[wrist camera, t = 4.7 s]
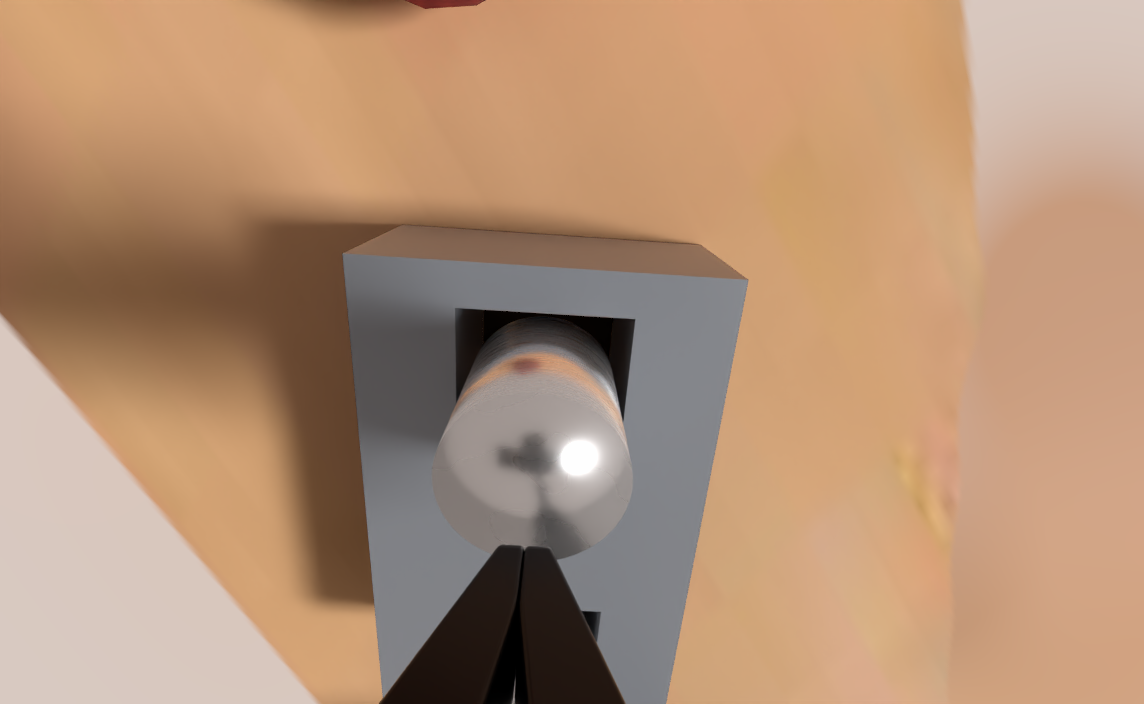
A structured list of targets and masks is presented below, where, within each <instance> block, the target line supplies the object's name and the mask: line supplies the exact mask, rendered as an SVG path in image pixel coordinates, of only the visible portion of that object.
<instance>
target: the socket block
mask: <svg viewBox="0 0 1144 704" xmlns="http://www.w3.org/2000/svg"><path fill="white" fill-rule="evenodd" d="M342 255H343V266H344V277H345V288H346V299H347V310H348V320H349V331H350V342H351V353H352V364H353V375H354V386H355V397H356V408H357V419H358V430H359V441H360V452H361V463H362V474H363V485H364V496H365V507H366V518H367V529H368V540H369V551H370V562H371V572H372V583H373V594H374V605H375V616H376V627H377V638H378V649H379V660H380V671H381V682H382V693H383V697H384V696H385V695H386V693H387V692H388V691H389V690H390V688H391V687H392V686H393V684H394V683H395V682H396V680H397V679H398V678H399V676H400V675H401V674H402V672H403V671H404V670H405V668H406V667H407V666H408V664H409V663H410V662H411V660H412V659H413V658H414V656H415V655H416V654H417V652H418V651H419V650H420V648H421V647H422V646H423V645H424V643H425V642H426V641H427V639H428V638H429V637H430V635H431V634H432V633H433V631H434V630H435V629H436V627H437V626H438V625H439V623H440V622H441V621H442V619H443V618H444V617H445V615H446V614H447V613H448V611H449V610H450V609H451V607H452V606H453V605H454V603H455V602H456V601H457V600H458V598H459V597H460V596H461V594H462V593H463V592H464V590H465V589H466V588H467V586H468V585H469V584H470V582H471V581H472V580H473V578H474V577H475V576H476V574H477V573H478V572H479V570H480V569H481V568H482V566H483V565H484V564H485V562H486V561H487V560H488V558H489V557H490V556H491V555H492V554H490V553H488V552H486V551H484V550H481V549H480V548H478V547H476V546H474V545H473V544H471V543H470V542H468V541H467V540H466V539H464V538H463V537H462V536H461V535H460V534H459V533H457V532H456V531H455V530H454V529H453V527H452V526H451V525H450V524H449V523H448V521H447V520H446V519H445V517H444V515H443V514H442V512H441V510H440V508H439V506H438V504H437V501H436V499H435V495H434V491H433V485H432V466H433V461H434V456H435V453H436V451H437V448H438V445H439V443H440V441H441V438H442V436H443V434H444V431H445V429H446V426H447V424H448V422H449V419H450V417H451V415H452V412H453V410H454V408H455V405H456V403H457V401H458V398H459V396H460V394H461V391H462V389H463V387H464V384H465V382H466V380H467V377H468V375H469V373H470V370H471V368H472V366H473V363H474V361H475V358H476V356H477V354H478V352H479V350H480V349H481V347H482V346H483V310H498V311H514V312H530V313H546V314H562V315H578V316H594V317H610V318H613V325H612V335H611V345H610V355H609V361H610V364H611V368H612V372H613V377H614V382H615V387H616V392H617V396H618V401H619V406H620V411H621V416H622V421H623V426H624V430H625V435H626V440H627V445H628V450H629V455H630V460H631V465H632V473H633V487H632V493H631V497H630V501H629V504H628V506H627V509H626V511H625V513H624V514H623V516H622V518H621V520H620V521H619V522H618V524H617V525H616V526H615V528H614V529H613V530H612V531H611V532H610V533H609V534H608V535H607V536H606V537H605V538H603V539H602V540H601V541H599V542H598V543H597V544H595V545H593V546H592V547H590V548H589V549H587V550H585V551H582V552H580V553H578V554H576V555H573V556H570V557H567V558H563V559H558V560H557V561H558V563H559V566H560V568H561V570H562V572H563V574H564V576H565V578H566V580H567V582H568V584H569V586H570V588H571V590H572V593H573V595H574V597H575V599H576V601H577V603H578V605H579V607H580V609H581V611H585V620H586V622H587V624H588V626H589V628H590V630H591V632H592V634H593V636H594V638H595V640H596V642H597V645H598V647H599V649H600V651H601V653H602V655H603V657H604V659H605V661H606V663H607V665H608V667H609V669H610V672H611V674H612V676H613V678H614V680H615V682H616V684H617V686H618V688H619V690H620V692H621V694H622V696H623V699H624V701H625V703H626V704H666V701H667V696H668V691H669V686H670V680H671V675H672V670H673V665H674V660H675V655H676V650H677V645H678V639H679V634H680V629H681V624H682V619H683V614H684V609H685V603H686V598H687V593H688V588H689V583H690V578H691V573H692V568H693V562H694V557H695V552H696V547H697V542H698V537H699V532H700V527H701V521H702V516H703V511H704V506H705V501H706V496H707V491H708V485H709V480H710V475H711V470H712V465H713V460H714V455H715V450H716V444H717V439H718V434H719V429H720V424H721V419H722V414H723V408H724V403H725V398H726V393H727V388H728V383H729V378H730V373H731V367H732V362H733V357H734V352H735V347H736V342H737V337H738V331H739V326H740V321H741V316H742V311H743V306H744V301H745V296H746V290H747V285H748V279H747V278H745V277H744V276H742V275H741V274H740V273H738V272H737V271H736V270H734V269H733V268H732V267H730V266H729V265H727V264H726V263H725V262H723V261H722V260H721V259H719V258H718V257H717V256H715V255H714V254H712V253H711V252H710V251H708V250H707V249H706V248H704V247H703V246H702V245H696V244H681V243H666V242H651V241H636V240H622V239H607V238H592V237H577V236H562V235H548V234H533V233H518V232H503V231H488V230H474V229H459V228H444V227H429V226H414V225H401V226H398V227H396V228H394V229H392V230H390V231H388V232H386V233H384V234H382V235H380V236H378V237H376V238H373V239H371V240H369V241H367V242H365V243H363V244H361V245H359V246H357V247H355V248H353V249H351V250H348V251H346V252H344V253H342Z"/></svg>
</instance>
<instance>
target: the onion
mask: <svg viewBox="0 0 1144 704" xmlns="http://www.w3.org/2000/svg"><path fill="white" fill-rule="evenodd" d="M405 1H408V2H410V3H413V4H415V5H417V6H420V7H422V8H425V9H429V8H443V7H459V6H474V5H478V4H480V3H482V2H483V1H485V0H405Z"/></svg>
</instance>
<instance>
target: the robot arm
mask: <svg viewBox="0 0 1144 704" xmlns="http://www.w3.org/2000/svg"><path fill="white" fill-rule="evenodd" d="M514 687H515V704H626V703H625V701H624V699H623V696H622V694H621V692H620V690H619V688H618V686H617V684H616V682H615V680H614V678H613V676H612V674H611V672H610V669H609V667H608V665H607V663H606V661H605V659H604V657H603V655H602V653H601V651H600V649H599V647H598V645H597V642H596V640H595V638H594V636H593V634H592V632H591V630H590V628H589V626H588V624H587V622H586V620H585V618H584V615H583V613H582V611H581V609H580V607H579V605H578V603H577V601H576V599H575V597H574V595H573V593H572V590H571V588H570V586H569V584H568V582H567V580H566V578H565V576H564V574H563V572H562V570H561V568H560V566H559V563H558V561H557V559H556V557H555V555H554V553H553V551H552V550H551V548H549V547H547V546H527V547H526V548H525V551H524V547H523V546H521V545H505V544H502V545H499V546H498V547H497V548H496V549H495V551H494V552H493V553H492V555H491V556H490V557H489V558H488V560H487V561H486V562H485V564H484V565H483V566H482V568H481V569H480V570H479V572H478V573H477V574H476V576H475V577H474V578H473V580H472V581H471V582H470V584H469V585H468V586H467V588H466V589H465V590H464V592H463V593H462V594H461V596H460V597H459V598H458V600H457V601H456V602H455V603H454V605H453V606H452V607H451V609H450V610H449V611H448V613H447V614H446V615H445V617H444V618H443V619H442V621H441V622H440V623H439V625H438V626H437V627H436V629H435V630H434V631H433V633H432V634H431V635H430V637H429V638H428V639H427V641H426V642H425V643H424V645H423V646H422V647H421V648H420V650H419V651H418V652H417V654H416V655H415V656H414V658H413V659H412V660H411V662H410V663H409V664H408V666H407V667H406V668H405V670H404V671H403V672H402V674H401V675H400V676H399V678H398V679H397V680H396V682H395V683H394V684H393V686H392V687H391V688H390V690H389V691H388V692H387V693H386V695H385V696H384V697H383V699H382V700H381V701H380V703H379V704H512V703H513V696H514Z"/></svg>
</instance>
